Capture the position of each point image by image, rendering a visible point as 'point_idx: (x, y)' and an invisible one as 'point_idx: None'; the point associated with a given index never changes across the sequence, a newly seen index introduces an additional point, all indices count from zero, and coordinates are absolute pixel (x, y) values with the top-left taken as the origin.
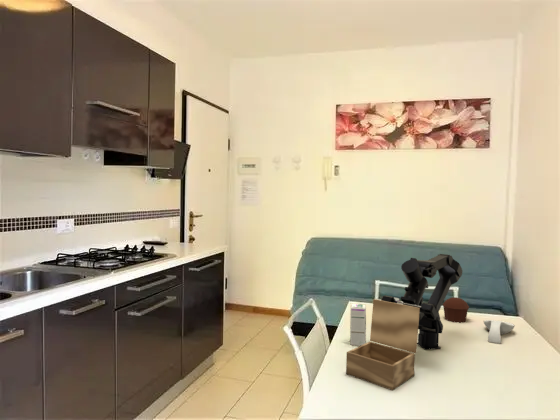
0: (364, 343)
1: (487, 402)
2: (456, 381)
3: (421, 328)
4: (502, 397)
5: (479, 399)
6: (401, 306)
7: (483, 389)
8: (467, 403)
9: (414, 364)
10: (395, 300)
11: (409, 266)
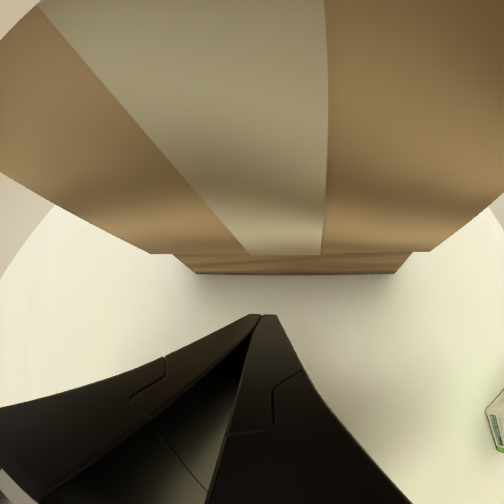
0: (492, 408)
1: (48, 252)
2: (91, 323)
3: None
4: (30, 296)
5: (56, 254)
6: (67, 7)
7: (49, 314)
8: (74, 218)
9: (177, 257)
10: None
11: None
